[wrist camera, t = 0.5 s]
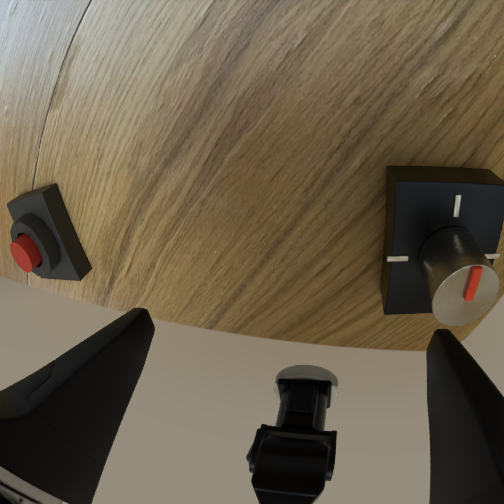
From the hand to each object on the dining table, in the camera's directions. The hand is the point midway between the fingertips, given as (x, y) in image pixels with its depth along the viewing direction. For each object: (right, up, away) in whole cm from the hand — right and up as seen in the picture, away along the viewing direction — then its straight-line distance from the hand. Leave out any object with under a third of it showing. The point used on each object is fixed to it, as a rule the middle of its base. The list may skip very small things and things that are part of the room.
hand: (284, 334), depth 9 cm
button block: (-23, +5, +19) cm, 30 cm away
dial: (+12, +2, +8) cm, 14 cm away
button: (-24, +3, +16) cm, 29 cm away
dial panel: (+12, +4, +10) cm, 16 cm away
